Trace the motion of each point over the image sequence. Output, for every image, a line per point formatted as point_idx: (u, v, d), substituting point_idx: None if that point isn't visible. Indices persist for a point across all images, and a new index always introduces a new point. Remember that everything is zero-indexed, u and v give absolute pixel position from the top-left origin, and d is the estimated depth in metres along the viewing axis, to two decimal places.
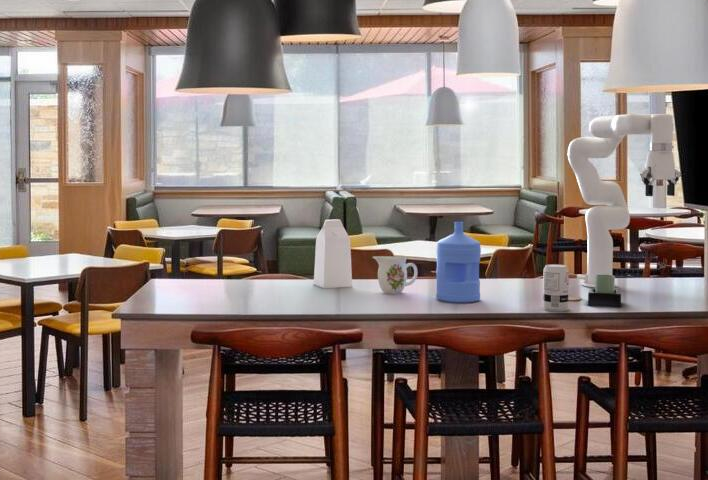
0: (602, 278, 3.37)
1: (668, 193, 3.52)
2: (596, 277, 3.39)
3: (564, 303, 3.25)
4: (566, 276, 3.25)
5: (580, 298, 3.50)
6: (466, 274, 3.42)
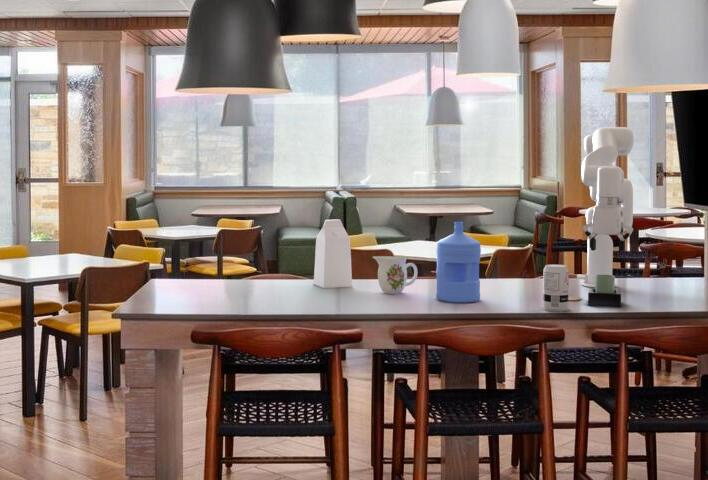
0: (602, 278, 3.37)
1: None
2: (596, 277, 3.39)
3: (564, 303, 3.25)
4: (566, 276, 3.25)
5: (580, 298, 3.50)
6: (466, 274, 3.42)
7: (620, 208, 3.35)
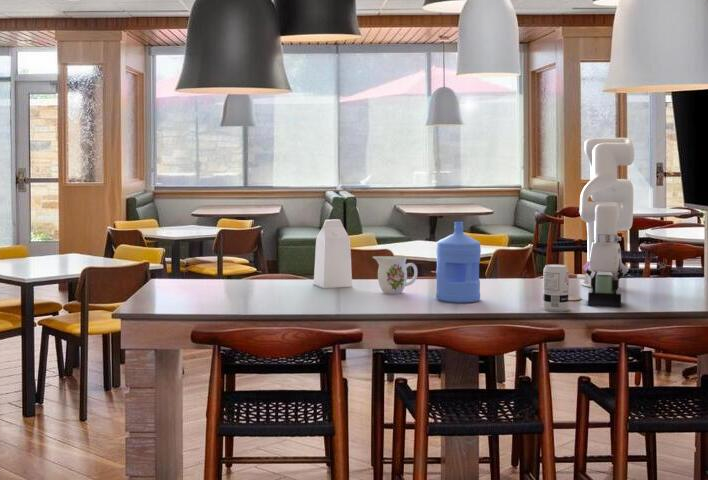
0: (602, 278, 3.37)
1: None
2: (596, 277, 3.39)
3: (564, 303, 3.25)
4: (566, 276, 3.25)
5: (580, 298, 3.50)
6: (466, 274, 3.42)
7: (618, 245, 3.36)
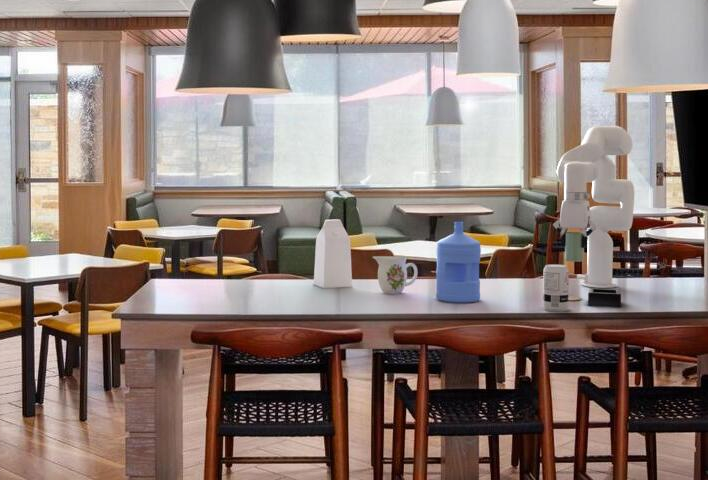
0: (572, 235, 3.45)
1: None
2: (566, 234, 3.47)
3: (564, 303, 3.25)
4: (566, 276, 3.25)
5: (580, 298, 3.50)
6: (466, 274, 3.42)
7: (587, 203, 3.44)
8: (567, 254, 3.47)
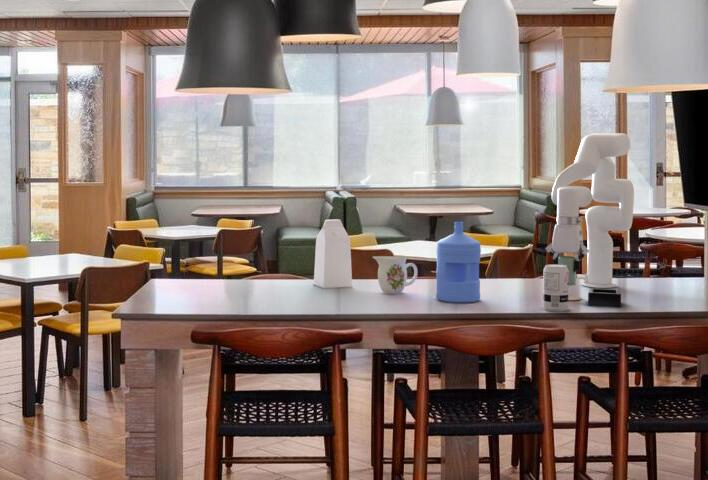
0: (564, 259, 3.48)
1: None
2: (558, 258, 3.50)
3: (564, 303, 3.25)
4: (566, 276, 3.25)
5: (580, 298, 3.50)
6: (466, 274, 3.42)
7: (579, 227, 3.47)
8: None
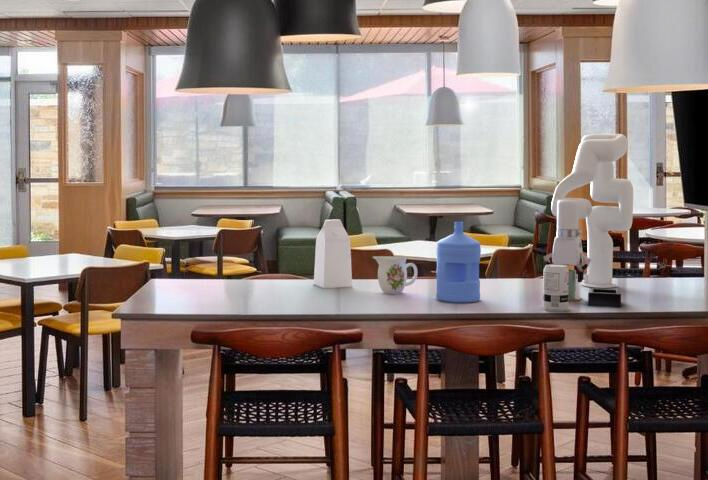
0: None
1: None
2: None
3: (564, 303, 3.25)
4: (566, 276, 3.25)
5: (580, 298, 3.50)
6: (466, 274, 3.42)
7: (579, 240, 3.48)
8: None
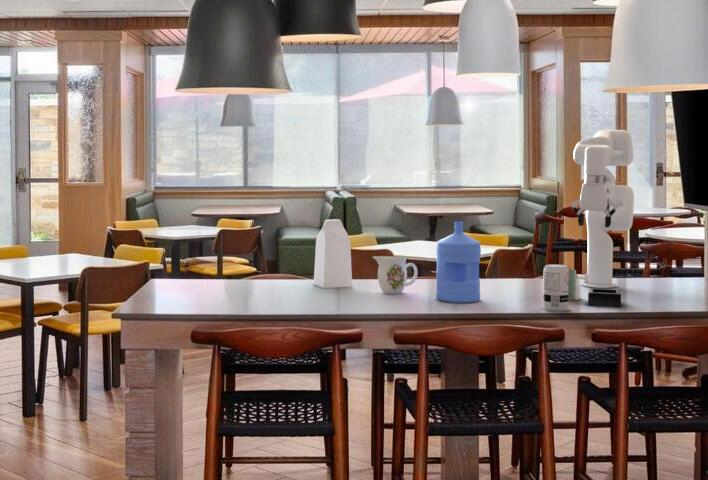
0: None
1: None
2: None
3: (564, 303, 3.25)
4: (566, 276, 3.25)
5: (580, 298, 3.50)
6: (466, 274, 3.42)
7: (606, 185, 3.53)
8: None
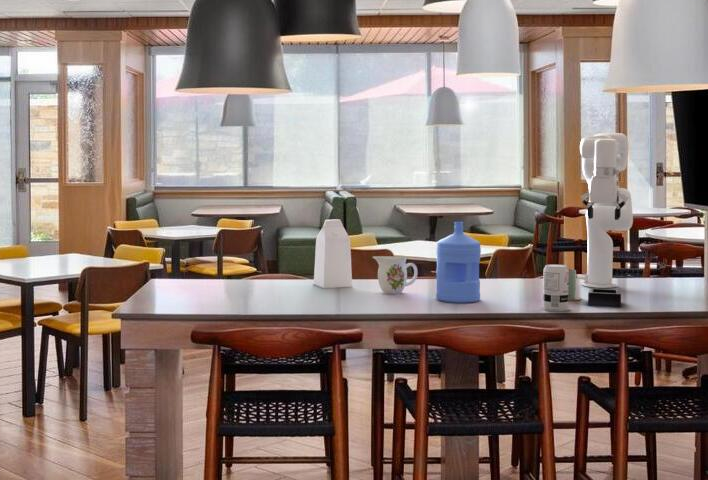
0: None
1: None
2: None
3: (564, 303, 3.25)
4: (566, 276, 3.25)
5: (580, 298, 3.50)
6: (466, 274, 3.42)
7: (616, 178, 3.55)
8: None
